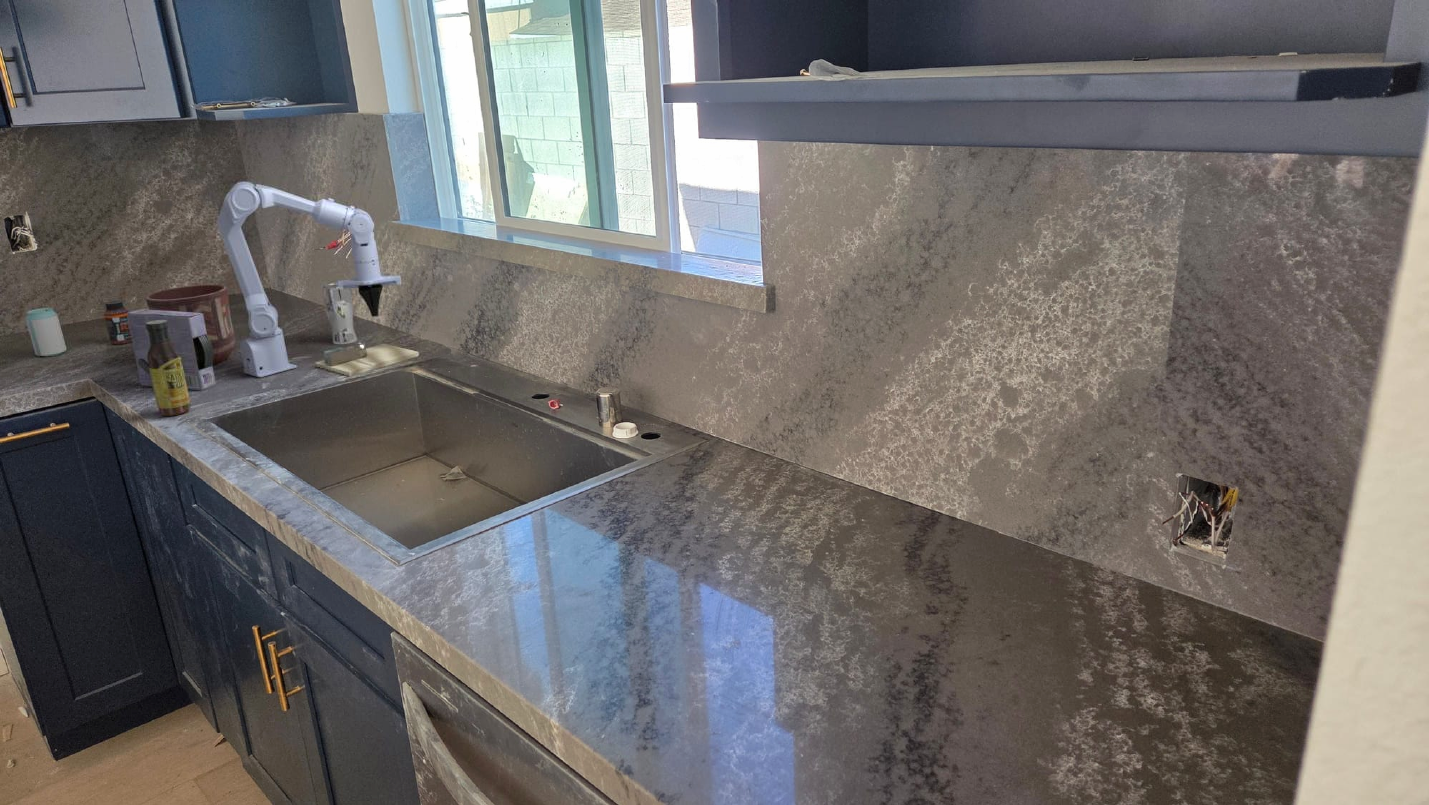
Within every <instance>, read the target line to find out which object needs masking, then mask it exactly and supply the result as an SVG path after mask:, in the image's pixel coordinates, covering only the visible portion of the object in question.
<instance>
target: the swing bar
mask: <svg viewBox="0 0 1429 805" xmlns="http://www.w3.org/2000/svg"><path fill="white" fill-rule="evenodd" d="M342 348H343V349H339V350H335V351H332V352H328V353H326V358H327V363H328V365H331V366H333V365H336V364H340V363H344V362H347V361H351V360H354V359H358V358H362V357H366V356H367V350H366V348H367V345H366V343H365V342H361V341H360V342H359V341H358V342H357V343H354V344H353V345H351V346H347V347H342Z"/></svg>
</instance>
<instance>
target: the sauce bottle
mask: <svg viewBox="0 0 1429 805" xmlns="http://www.w3.org/2000/svg"><path fill="white" fill-rule="evenodd" d="M146 329H147V330H148V333H149V338H150V343H151V346H150V349H149V351H148V354H147V359H148V363H149V370H150V375H151V379H152V384H153V387H152V388H153V392H154V397H155V401H156V406H157V408H158V412H159V414H160V416H164V417H172V416H178V415H181V414H182V415H183V414H185V413H187V412H189V411H190V409H191V399H190V394H189V389H187V384H186V379H185V375H184V370H183V365H182V360H181V357H180V355H179V354H178V352H177V350H176V349H175V347H174V345H173V344H172V342H171V339H170V336H169V332H168V323H167V321H166V320H155V321H150V322H147V323H146Z"/></svg>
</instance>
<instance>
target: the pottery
mask: <svg viewBox="0 0 1429 805" xmlns="http://www.w3.org/2000/svg"><path fill="white" fill-rule="evenodd" d="M145 298H146V305H147V307H148V310H161V311H177V312H192V313H203V316H204V321H205V327H206V332H207V336H208V338H209V340H210V342H211V345H212V349H213V364H212V366H214V365H217V364H221V363H222V362H224V361H226V360H227V359H228V358H229V356H231V354H232V352H233V349H234V346H235V341H236V336H235V331H234V328H233V322H232V318H231V311H230V302H229V290H228V287H227V286H225V285H222V284H193V285H187V286H185V285H184V286H178V287H177V286H176V287H173V288H167V289H164V290H159V291H156V292H152V293H151V294H148V295H147V296H146V297H145Z"/></svg>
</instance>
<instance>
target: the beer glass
mask: <svg viewBox="0 0 1429 805" xmlns="http://www.w3.org/2000/svg"><path fill="white" fill-rule="evenodd" d="M350 289H351V288H349V289H343V290H339V288H338V282H335V283H334V282H333V283H328V284H324V285H322V286H321V291H322V300H323V305H324V306H323V307H324V310H325V313H326V315H327V318H328V321H329V324H330V326H331V330H332V331H331V332H332V343H333V345H348V344H352V343H355V342H357V341H358V337H357V335H356V332H355V328H354V320H353V319H354V305H353V304H354V303H353V297H352V293H351V290H350Z"/></svg>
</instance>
